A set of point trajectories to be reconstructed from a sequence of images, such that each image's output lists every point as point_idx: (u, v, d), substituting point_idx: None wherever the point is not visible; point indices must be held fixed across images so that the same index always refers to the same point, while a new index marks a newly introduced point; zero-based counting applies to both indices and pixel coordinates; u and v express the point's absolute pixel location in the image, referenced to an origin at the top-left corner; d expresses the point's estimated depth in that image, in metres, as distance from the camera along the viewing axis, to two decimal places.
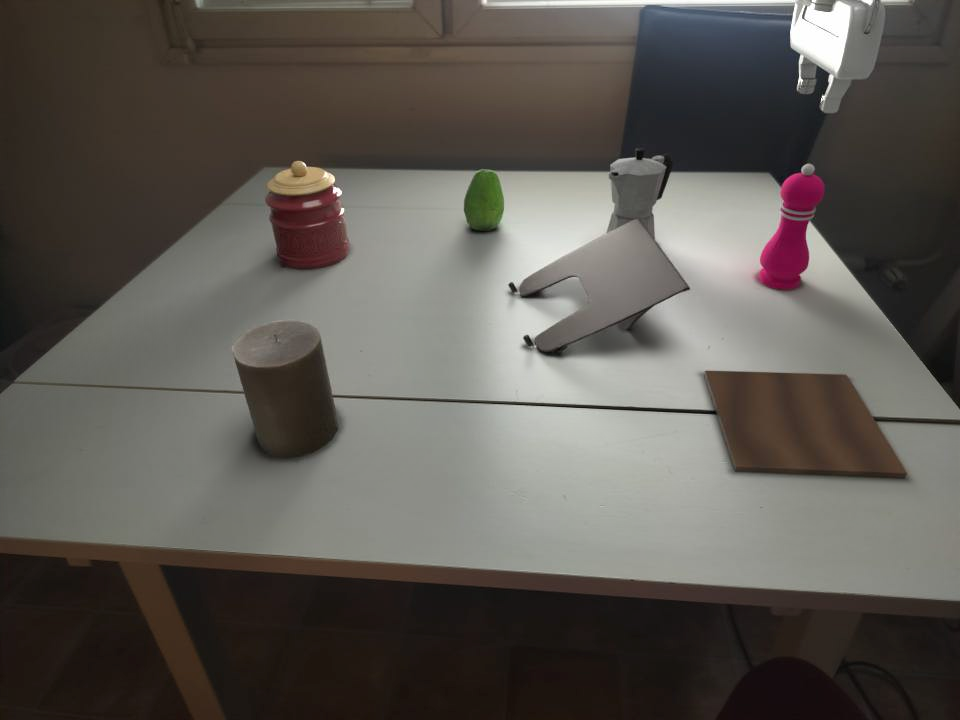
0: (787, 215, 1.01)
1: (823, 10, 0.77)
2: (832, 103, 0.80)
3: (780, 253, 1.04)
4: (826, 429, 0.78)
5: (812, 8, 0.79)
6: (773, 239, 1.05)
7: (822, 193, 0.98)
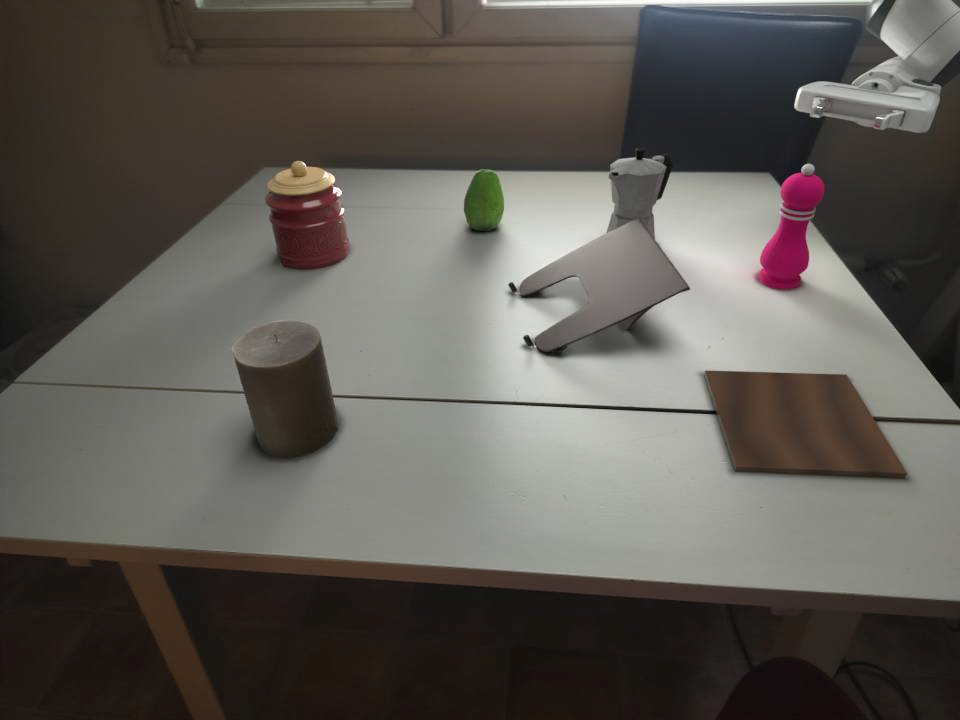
0: (787, 215, 1.01)
1: None
2: None
3: (780, 253, 1.04)
4: (826, 429, 0.78)
5: None
6: (773, 239, 1.05)
7: (822, 193, 0.98)
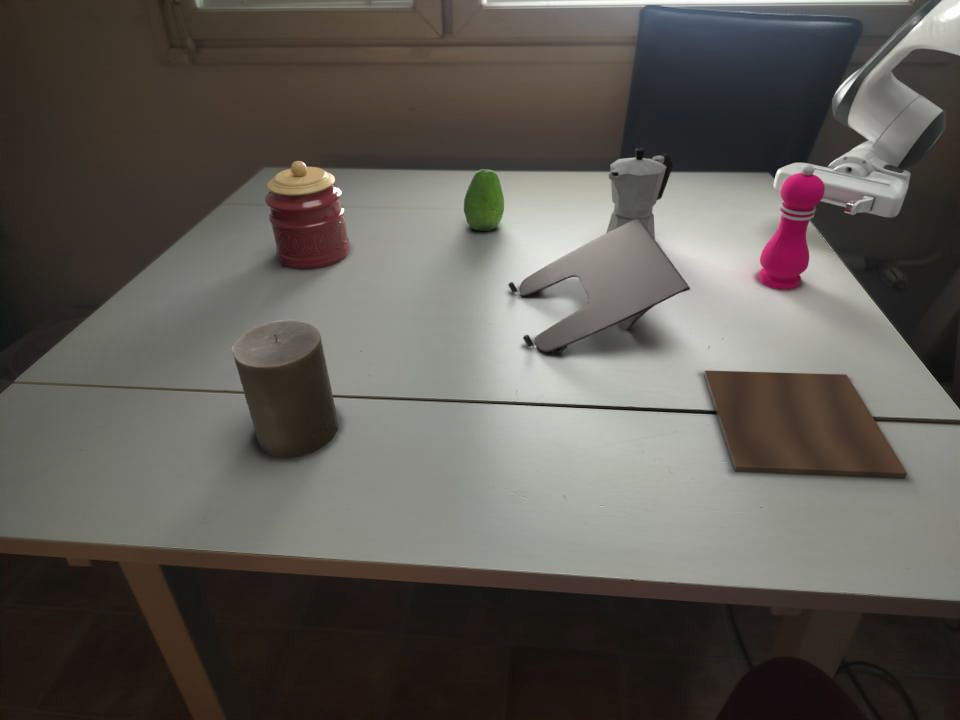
0: (787, 215, 1.01)
1: None
2: None
3: (780, 253, 1.04)
4: (826, 429, 0.78)
5: None
6: (773, 239, 1.05)
7: (822, 193, 0.98)
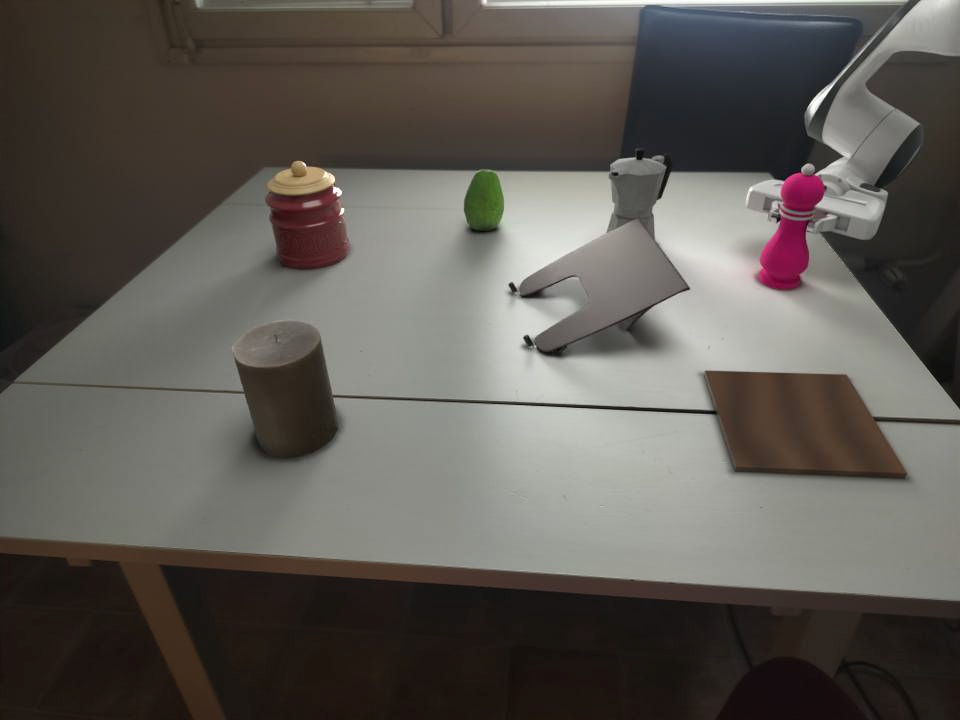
0: (787, 215, 1.01)
1: None
2: None
3: (780, 253, 1.04)
4: (826, 429, 0.78)
5: None
6: (773, 239, 1.05)
7: (822, 193, 0.98)
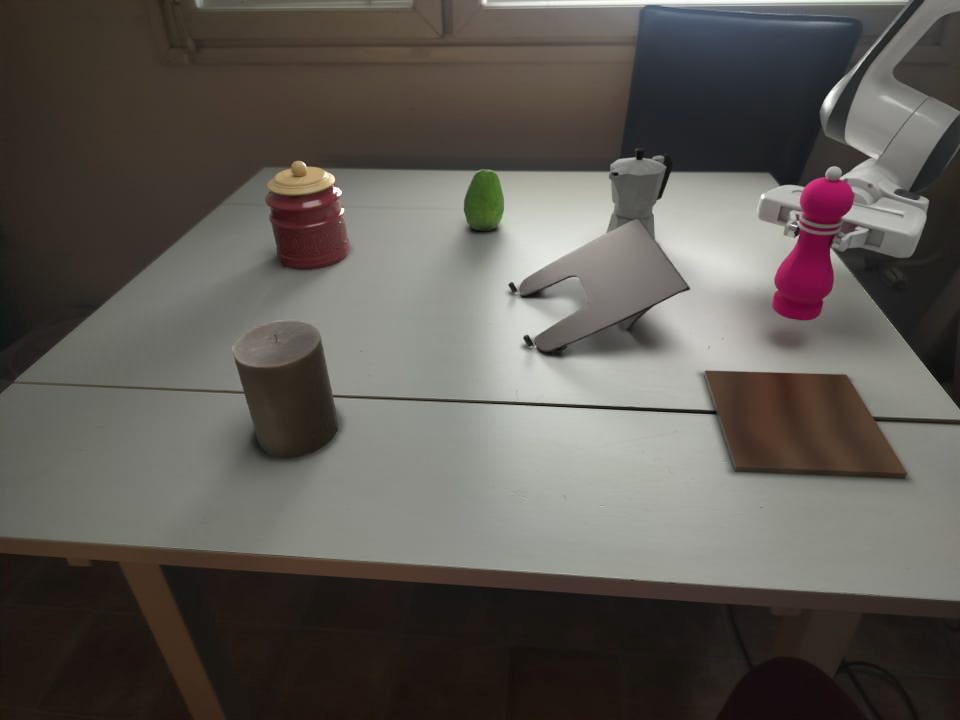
0: (808, 228, 0.84)
1: None
2: None
3: (799, 273, 0.86)
4: (826, 429, 0.78)
5: None
6: (790, 256, 0.88)
7: (851, 202, 0.81)
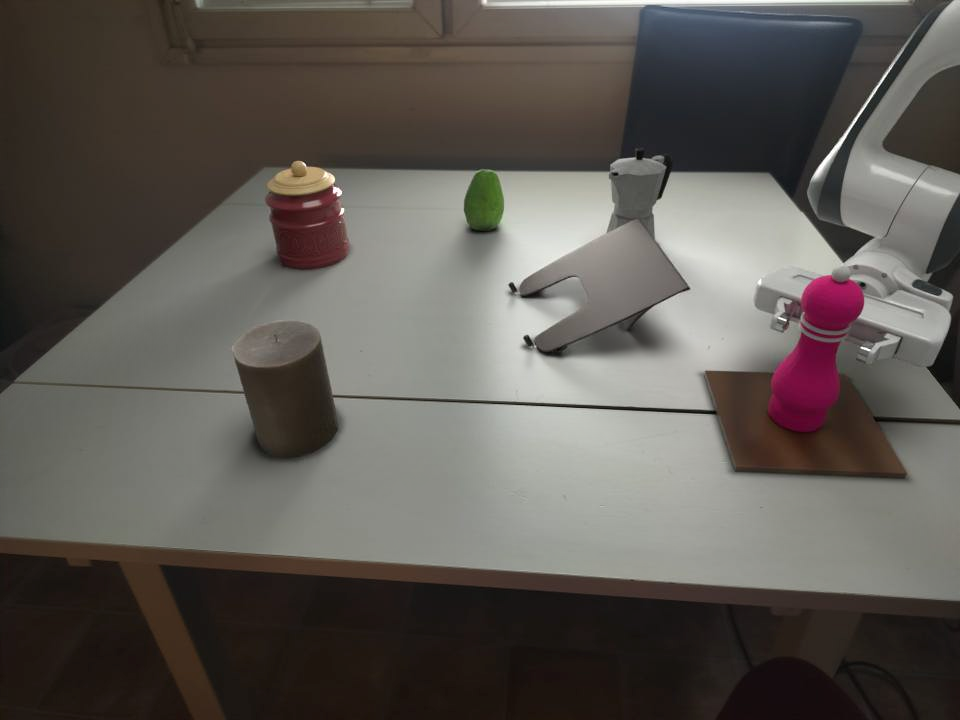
0: (810, 334, 0.72)
1: None
2: None
3: (800, 382, 0.74)
4: (826, 429, 0.78)
5: None
6: (789, 360, 0.76)
7: (861, 307, 0.69)
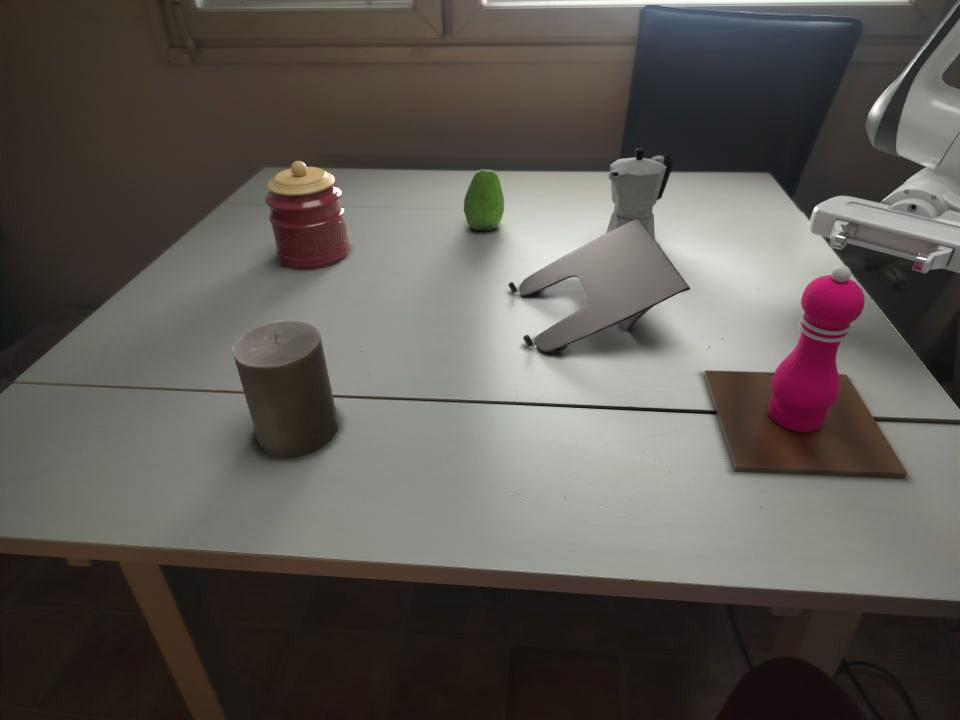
0: (810, 334, 0.72)
1: None
2: None
3: (800, 382, 0.74)
4: (826, 429, 0.78)
5: None
6: (789, 360, 0.76)
7: (861, 307, 0.69)
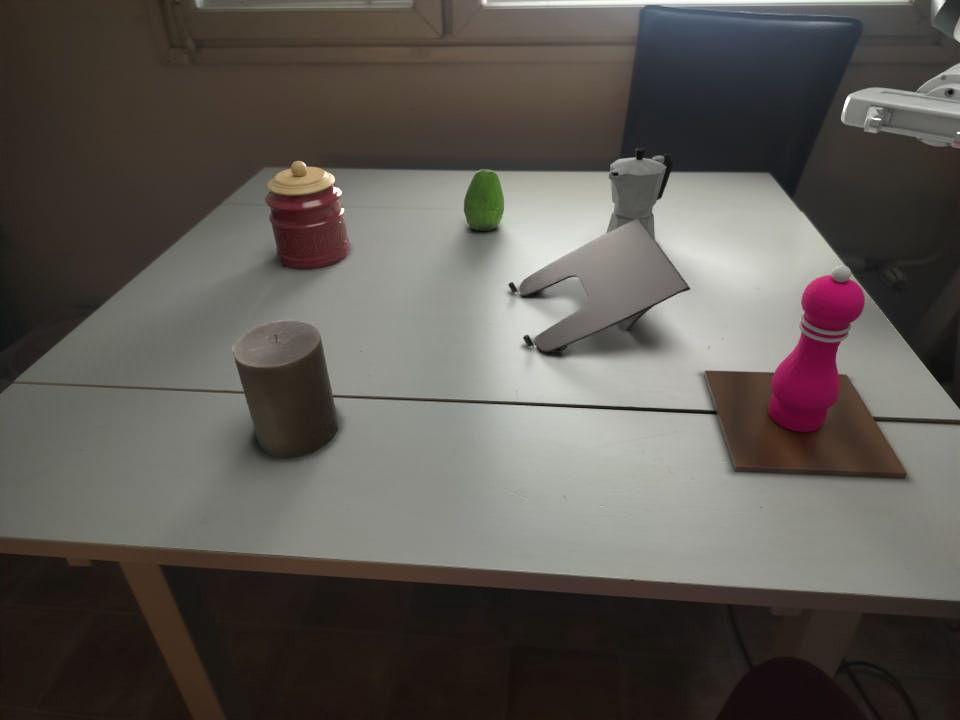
0: (811, 334, 0.72)
1: None
2: None
3: (800, 382, 0.74)
4: (826, 429, 0.78)
5: None
6: (789, 360, 0.76)
7: (861, 307, 0.69)
